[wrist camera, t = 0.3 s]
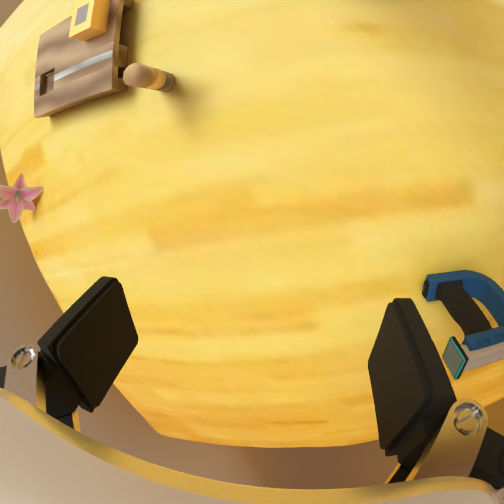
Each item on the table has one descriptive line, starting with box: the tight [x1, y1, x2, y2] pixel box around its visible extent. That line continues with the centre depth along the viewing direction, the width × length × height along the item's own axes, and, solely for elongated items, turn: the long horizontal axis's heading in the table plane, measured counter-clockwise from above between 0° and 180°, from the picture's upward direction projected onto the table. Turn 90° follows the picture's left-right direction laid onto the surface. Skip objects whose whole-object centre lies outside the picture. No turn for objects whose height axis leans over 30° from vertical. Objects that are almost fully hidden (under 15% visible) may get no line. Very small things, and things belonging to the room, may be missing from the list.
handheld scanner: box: [422, 270, 504, 380], centre depth 30 cm, size 5×16×20 cm, turn 99°
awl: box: [123, 63, 175, 91], centre depth 28 cm, size 3×3×9 cm
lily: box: [0, 174, 43, 223], centre depth 41 cm, size 12×12×10 cm
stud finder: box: [69, 0, 110, 41], centre depth 22 cm, size 7×4×4 cm, turn 1°
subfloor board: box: [34, 0, 132, 118], centre depth 29 cm, size 18×20×4 cm
